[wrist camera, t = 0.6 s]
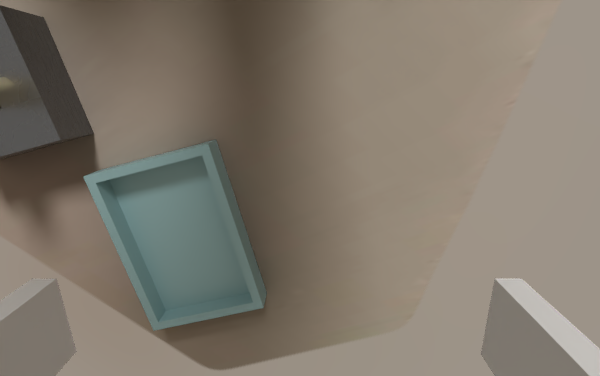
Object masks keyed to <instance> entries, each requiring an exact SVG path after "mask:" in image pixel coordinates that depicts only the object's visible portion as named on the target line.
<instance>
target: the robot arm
mask: <svg viewBox="0 0 600 376" xmlns="http://www.w3.org/2000/svg"><path fill="white" fill-rule="evenodd" d="M75 353H76V348H75V344H74V341H73V337H72V333H71V330H70V326H69V323H68V319H67V315H66V311H65V308H64V304H63V300H62V296H61V293H60V289H59V285H58V282H57V279H31V280H29V281H28V282H26V283H25V284H24V285H22V286H21V287H19V288H18V289H17V290H15V291H14V292H12V293H11V294H9V295H8V296H6V297H5V298H3V299H2V300H1V301H0V376H55V375H56V374H57V373H58V372H59V371H60V370H61V369H62V368H63V366H64V365H65V364H66V363H67V362H68V361H69V360H70V358H71V357H72V356H73V355H74V354H75ZM481 355H482V357H483V358H484V360H485V361H486V363H487V364H488V366H489V367H490V369H491V371H492V372H493V374H494V375H495V376H600V349H599V348H598V347H597V346H596V345H595V344H594V343H593V342H592V341H590V340H589V339H588V338H587V337H586V336H585V335H584V334H583V333H582V332H580V331H579V330H578V329H577V328H576V327H575V326H574V325H573V324H572V323H570V322H569V321H568V320H567V319H566V318H565V317H564V316H563V315H561V314H560V313H559V312H558V311H557V310H556V309H555V308H554V307H552V306H551V305H550V304H549V303H548V302H547V301H546V300H545V299H544V298H543V297H541V296H540V295H539V294H538V293H537V292H536V291H535V290H534V289H533V288H531V287H530V286H529V285H528V284H527V283H526V282H525V281H524V280H523V279H521V278H515V279H514V278H512V279H510V278H503V279H502V278H495V280H494V286H493V291H492V296H491V302H490V308H489V313H488V318H487V324H486V329H485V335H484V340H483V346H482V351H481Z"/></svg>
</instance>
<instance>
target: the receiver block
mask: <svg viewBox="0 0 600 376" xmlns="http://www.w3.org/2000/svg"><path fill="white" fill-rule="evenodd" d="M0 106H1V108H2V109H0V159H3V158H7V157H11V156H14V155H18V154H21V153H25V152H29V151H32V150H36V149H40V148H43V147H47V146H50V145H54V144H58V143H61V142H65V141H69V140H72V139H76V138H79V137H83V136H87V135H90V134H94V133H93V131H92V129H91V126H90V124H89V122H88V119H87V117H86V115H85V112H84V110H83V108H82V105H81V103H80V101H79V98H78V96H77V94H76V92H75V89H74V87H73V85H72V82H71V80H70V78H69V75H68V73H67V71H66V68H65V66H64V64H63V61H62V59H61V57H60V54H59V52H58V50H57V48H56V45H55V43H54V41H53V38H52V36H51V34H50V31H49V29H48V27H47V24H46V22H45V20H44V17H40V16H37V15H33V14H29V13H26V12H22V11H19V10H15V9H12V8H8V7H4V6H1V5H0Z"/></svg>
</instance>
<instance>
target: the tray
mask: <svg viewBox="0 0 600 376" xmlns="http://www.w3.org/2000/svg"><path fill="white" fill-rule="evenodd" d="M83 177H84V180H85V182H86V184H87V186H88V188H89V191H90V193H91V195H92V197H93V199H94V202H95V204H96V206H97V208H98V210H99V212H100V215H101V217H102V219H103V221H104V223H105V226H106V228H107V230H108V232H109V234H110V236H111V239H112V241H113V243H114V245H115V247H116V250H117V252H118V254H119V256H120V258H121V261H122V263H123V265H124V267H125V269H126V271H127V274H128V276H129V278H130V280H131V282H132V285H133V287H134V289H135V291H136V293H137V295H138V298H139V300H140V302H141V304H142V306H143V309H144V311H145V313H146V315H147V317H148V319H149V322H150V324H151V326H152V328H153V330H154V331H155V330H160V329H164V328H169V327H174V326H179V325H184V324H189V323H193V322H198V321H203V320H208V319H213V318H217V317H222V316H227V315H232V314H237V313H241V312H246V311H251V310H256V309H261V308H264V304H265V299H266V294H267V292H266V289H265V286H264V283H263V280H262V277H261V274H260V271H259V268H258V265H257V262H256V259H255V256H254V253H253V250H252V247H251V244H250V240H249V237H248V234H247V231H246V228H245V225H244V222H243V219H242V216H241V213H240V210H239V207H238V204H237V201H236V198H235V195H234V192H233V189H232V186H231V183H230V180H229V177H228V174H227V171H226V168H225V165H224V162H223V159H222V156H221V153H220V150H219V147H218V144H217V141H216V140H212V141H208V142H205V143H201V144H197V145H193V146H189V147H186V148H182V149H178V150H174V151H170V152H167V153H163V154H159V155H155V156H151V157H148V158H144V159H140V160H136V161H132V162H129V163H125V164H121V165H117V166H113V167H110V168H106V169H102V170H99V171H96V172H94V173H91V174H88V175H86V176H83Z"/></svg>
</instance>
